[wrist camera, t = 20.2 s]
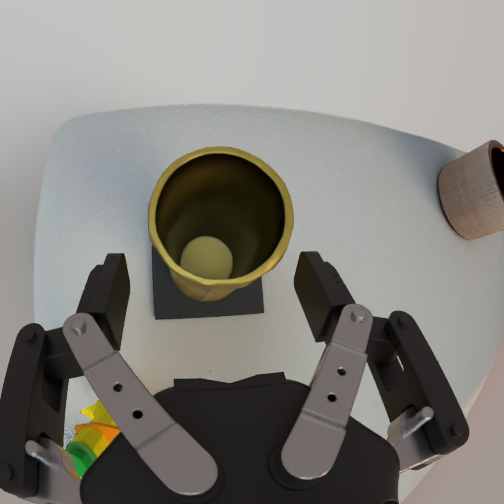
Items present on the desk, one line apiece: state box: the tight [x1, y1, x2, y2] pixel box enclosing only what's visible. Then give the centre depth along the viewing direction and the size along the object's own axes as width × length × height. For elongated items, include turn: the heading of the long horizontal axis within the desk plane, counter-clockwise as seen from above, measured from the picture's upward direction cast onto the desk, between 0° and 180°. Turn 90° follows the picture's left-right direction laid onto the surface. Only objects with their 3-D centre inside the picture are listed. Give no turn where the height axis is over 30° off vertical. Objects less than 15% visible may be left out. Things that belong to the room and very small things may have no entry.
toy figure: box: [65, 400, 121, 477], centre depth 15 cm, size 7×4×12 cm, turn 88°
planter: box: [439, 140, 504, 239], centre depth 27 cm, size 11×11×10 cm
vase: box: [148, 147, 294, 302], centre depth 17 cm, size 6×6×14 cm
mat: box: [152, 244, 264, 320], centre depth 24 cm, size 9×9×1 cm
